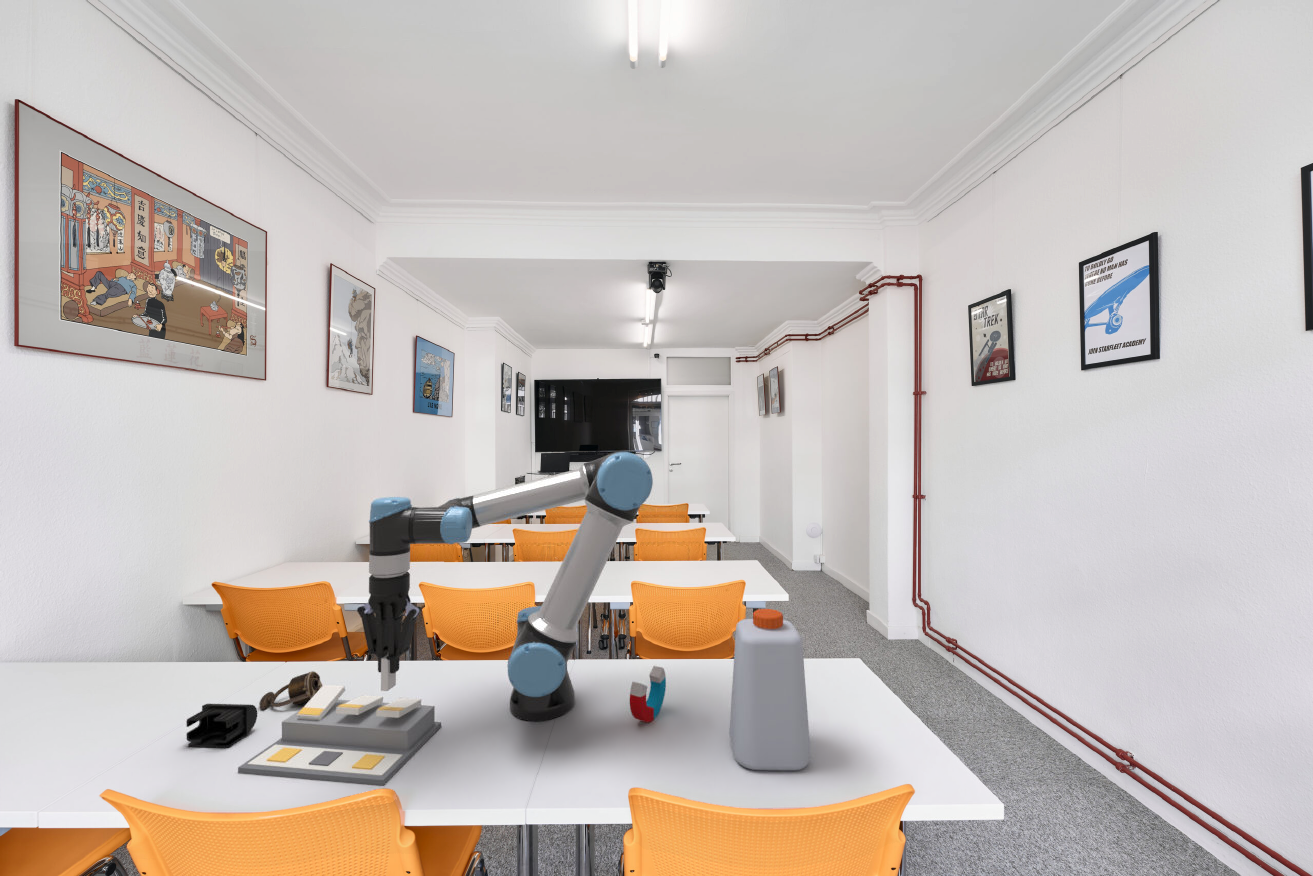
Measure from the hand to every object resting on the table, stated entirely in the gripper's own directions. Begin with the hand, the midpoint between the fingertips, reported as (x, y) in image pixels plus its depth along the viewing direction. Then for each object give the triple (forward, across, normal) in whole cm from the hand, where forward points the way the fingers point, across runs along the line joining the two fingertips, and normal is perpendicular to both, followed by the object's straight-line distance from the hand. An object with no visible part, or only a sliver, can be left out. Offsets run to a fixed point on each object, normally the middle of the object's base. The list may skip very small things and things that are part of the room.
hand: (388, 687), depth 109 cm
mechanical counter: (+13, +35, -15) cm, 40 cm away
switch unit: (+13, +8, +1) cm, 15 cm away
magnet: (+12, -52, -18) cm, 56 cm away
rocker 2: (+6, 0, -3) cm, 6 cm away
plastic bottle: (+12, -78, -9) cm, 79 cm away
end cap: (+13, +37, +1) cm, 40 cm away
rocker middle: (+6, +8, -3) cm, 11 cm away
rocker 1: (+6, +18, -3) cm, 19 cm away
